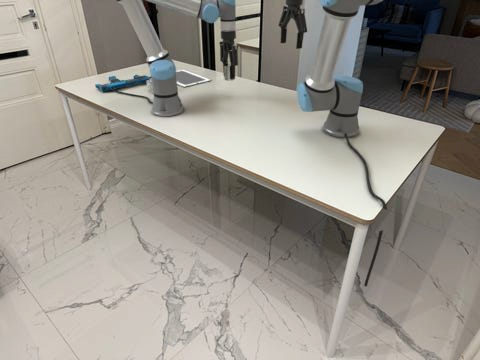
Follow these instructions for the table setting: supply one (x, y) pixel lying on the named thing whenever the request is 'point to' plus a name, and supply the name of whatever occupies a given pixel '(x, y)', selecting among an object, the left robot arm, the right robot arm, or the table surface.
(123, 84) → the submachine gun
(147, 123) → the table surface
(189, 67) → the table surface
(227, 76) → the canister
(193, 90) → the table surface
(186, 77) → the tablet
